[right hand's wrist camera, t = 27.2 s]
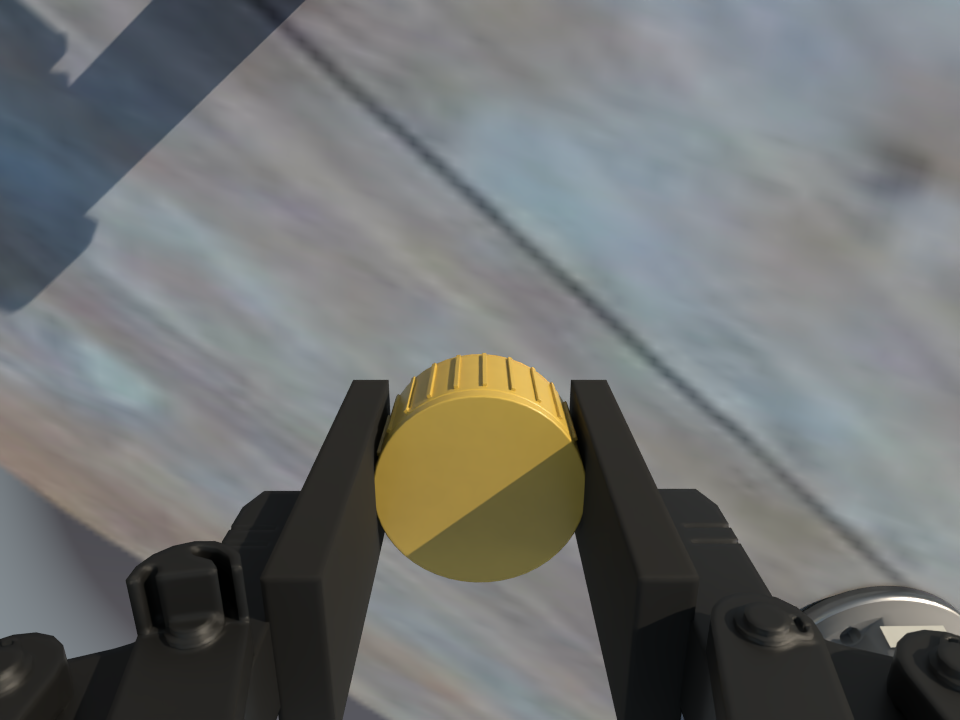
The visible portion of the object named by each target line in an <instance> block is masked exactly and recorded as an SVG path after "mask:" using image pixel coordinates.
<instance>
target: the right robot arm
mask: <svg viewBox="0 0 960 720" xmlns="http://www.w3.org/2000/svg"><path fill="white" fill-rule="evenodd" d="M388 415H389V416H390V399H389V380H353V382H352V384H351V386H350V388H349V390H348V392H347V394H346V397H345V399H344V401H343V403H342V405H341V407H340V409H339V411H338V413H337V416H336V418H335V420H334V422H333V424H332V426H331V428H330V430H329V433H328V435H327V437H326V439H325V441H324V443H323V445H322V447H321V449H320V452H319V454H318V456H317V458H316V460H315V462H314V464H313V466H312V469H311V471H310V473H309V475H308V477H307V479H306V481H305V483H304V485H303V488H302V490H301V491H264V492H262V493H261V494H260V495H258V496H257V497H256V498H254V499H253V500H252V501H250V502H249V503H248V504H246V505H245V506H244V507H243V508H242V509H241V511H240V513H239V514H238V516H237V518H236V519H235V521H234V523H233V524H232V526H231V530H229V531H228V533H227V534H226V536H225V538H224V539H223V541H222V543H219V542H216V541H194V542H189V543H185V544H180V545H175V546H172V547H170V548H167V549H165V550H163V551H160V552H158V553H156V554H153V555H152V556H150V557H149V558H147V559H146V560H145V561H143V562H142V563H140V564H139V565H138V566H136V567H135V569H134V570H133V571H132V573H131V574H130V575H129V577H128V578H127V579H126V584H127V588H128V593H129V598H130V602H131V607H132V611H133V616H134V620H135V625H136V629H137V634H138V637H137V639H136V642H134V643H131V644H128V645H125V646H122V647H118V648H115V649H111V650H106V651H102V652H98V653H93V654H89V655H85V656H80V657H76V658H72V659H67V658H66V654H65V650H64V647H63V645H62V644H61V643H60V642H59V641H58V640H57V639H56V638H55V637H54V636H51V635H46V634H41V633H26V634H16V635H12V636H8V637H5V638H2V639H0V720H276V719H277V716H279V720H342V719H343V714H344V710H345V706H346V701H347V697H348V692H349V688H350V683H351V679H352V675H353V670H354V666H355V661H356V657H357V653H358V648H359V644H360V639H361V635H362V630H363V626H364V622H365V617H366V613H367V608H368V604H369V599H370V595H371V591H372V586H373V582H374V577H375V573H376V568H377V564H378V560H379V555H380V551H381V546H382V542H383V537H384V533H385V531H384V529H383V528H382V526H381V524H380V521H379V519H378V516H377V510H376V495H375V478H374V472H375V467H376V463H377V460H378V456H377V450H378V447H379V444H380V440H381V437H382V434H383V430H384V427H385V424H386V420H387V417H388ZM570 415H571V418H572V421H573V425H574V428H575V431H576V435H577V438H578V440H576V441H577V445H578V448H579V452H580V455H581V458H582V462H583V466H584V469H585V488H584V504H583V515H582V517H581V520H580V523H579V525H578V526H577V528H576V530H575V535H576V539H577V544H578V548H579V553H580V557H581V561H582V566H583V570H584V575H585V579H586V584H587V588H588V592H589V597H590V601H591V606H592V610H593V615H594V619H595V623H596V628H597V632H598V637H599V641H600V646H601V650H602V654H603V659H604V663H605V668H606V672H607V677H608V681H609V685H610V690H611V694H612V699H613V703H614V708H615V712H616V716H617V720H681V712H682V714H683V717H684V720H960V613H959V612H958V611H957V610H956V609H955V608H954V607H953V606H952V605H950V604H949V603H947V602H946V601H944V600H943V599H941V598H939V597H937V596H935V595H932V594H930V593H927V592H924V591H921V590H917V589H912V588H907V587H898V586H877V587H867V588H861V589H856V590H852V591H848V592H844V593H841V594H838V595H835V596H833V597H830V598H828V599H825V600H823V601H821V602H819V603H817V604H815V605H814V606H812V607H810V608H808V609H807V610H805V611H804V612H802V611H801V610H800V609H798V608H797V607H795V606H793V605H791V604H789V603H787V602H785V601H783V600H781V599H779V598H776V597H772V595H771V593H770V592H769V590H768V589H767V587H766V585H765V584H764V582H763V580H762V579H761V577H760V575H759V574H758V572H757V570H756V569H755V567H754V565H753V564H752V562H751V560H750V559H749V557H748V555H747V554H746V552H745V550H744V549H743V547H742V545H741V544H738V539H737V537H736V536H735V534H734V532H733V531H732V529H731V528H729V526H728V525H729V524H728V522H727V521H726V519H725V517H724V516H723V514H722V512H721V511H720V509H719V507H718V506H717V505H716V504H715V503H714V502H712V501H711V500H710V499H708V498H707V497H706V496H704V495H703V494H702V493H700V492H699V491H698V490H696V489H657V486H656V484H655V482H654V480H653V478H652V476H651V474H650V472H649V469H648V467H647V465H646V463H645V461H644V459H643V457H642V455H641V453H640V450H639V448H638V446H637V444H636V442H635V440H634V438H633V436H632V433H631V431H630V429H629V427H628V425H627V423H626V421H625V419H624V417H623V414H622V412H621V410H620V408H619V406H618V404H617V402H616V400H615V397H614V395H613V393H612V391H611V389H610V387H609V385H608V383H607V380H571V391H570Z"/></svg>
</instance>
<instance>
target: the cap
mask: <svg viewBox="0 0 960 720" xmlns="http://www.w3.org/2000/svg"><path fill="white" fill-rule="evenodd" d="M576 440H578V438H577V435H576V431H575V428H574V425H573V421H572V418H571V415H570V411H569V408H568V405H567V402H566V401H565V402H563V400H562V399H561V397H560V396H559V394H558V392H557V391H556V390H555V387H554V384H553V383H552V382H551V383H549V382H548V381H547V380H546V379H545V378H544V377H543V376H542V375H540V374H539V373H537V372H536V371H535V368H533V367H531V368H530V367H528V366H526V365H524V364H522V363H520V362H517V361H515V360H512V358H510V357H508V358H505V357H501V356H496V355H486V353H482V354H472V355H465V356H460V355H457V356H456V357H455V358H451V359H447V360H445V361H442V362H440V363H437V364H436V363H434V364H432V367H430V368H428V369H426V370H425V371H423V372H422V373H421V374H420V375H418V376H417V377H415V376H414V377H413V378H412V379H411V383H410V384H409V385H408V386H407V387H406V388H405V389H404V391H403V392H402V393H401V395H399V394H398V395H397V396H396V399H395V403H394V406H393V410H392V413H391V416H389V415H388V417H387V420H386V424H385V427H384V430H383V434H382V437H381V440H380V444H379V447H378V450H377V456H378V460H377V463H376V467H375V472H374V478H375V495H376V510H377V516H378V519H379V521H380V524H381V526H382V528H383V529H384V531H385V533H386V535H387V536H388V538H389V539H390V540H391V541H392V543H393V544H394V545H395V546H396V547H397V548H398V549H399V550H400V551H401V552H402V553H403V554H404V555H405V556H406V557H407V558H409V559H410V560H411V561H412V562H414V563H415V564H417V565H419V566H420V567H422V568H424V569H426V570H428V571H430V572H432V573H434V574H437V575H440V576H443V577H446V578H449V579H454V580H459V581H466V582H493V581H501V580H505V579H510V578H514V577H517V576H520V575H522V574H525V573H528V572H530V571H532V570H534V569H536V568H538V567H539V566H541V565H542V564H544V563H545V562H547V561H549V560H550V559H551V558H552V557H553V556H555V555H556V554H557V553H558V552H559V551H560V550H561V549H562V548H563V547H564V546H565V545H566V544H567V542H568V541H569V540H570V538H571V537H572V535H573V534H574V532H575V530H576V528H577V526H578V525H579V523H580V520H581V517H582V515H583V504H584V488H585V469H584V466H583V462H582V458H581V455H580V452H579V448H578V445H577V441H576Z"/></svg>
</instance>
